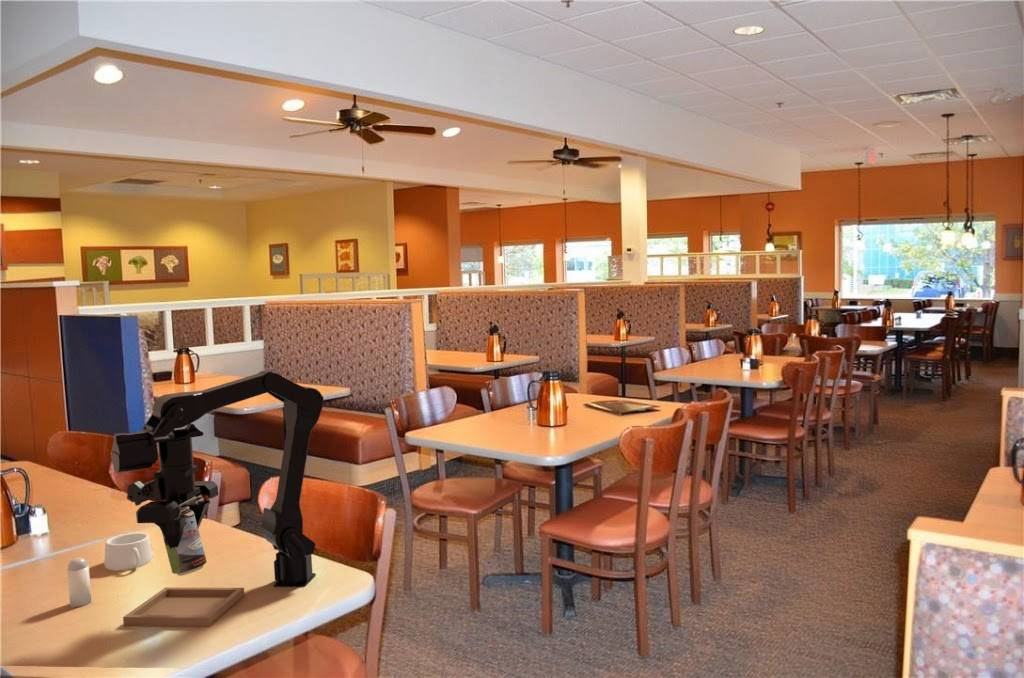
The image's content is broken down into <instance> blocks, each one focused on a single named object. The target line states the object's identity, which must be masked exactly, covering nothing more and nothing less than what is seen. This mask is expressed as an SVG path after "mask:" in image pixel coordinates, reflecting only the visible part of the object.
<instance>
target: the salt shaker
mask: <svg viewBox="0 0 1024 678" xmlns="http://www.w3.org/2000/svg"><path fill="white" fill-rule="evenodd" d="M90 579H91V577H90V565H89V563H88V561H87V560H86V558H84V557H78V556H77V557H75V558H72V559H71V560H70V561H69V563H68V564H67V581H68V597H69V606H70V607H71V608H79V607H84V606H88V605H89V604H91V603H92V592H91V581H90Z"/></svg>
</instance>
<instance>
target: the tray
mask: <svg viewBox="0 0 1024 678" xmlns="http://www.w3.org/2000/svg"><path fill="white" fill-rule="evenodd" d="M245 595H246V594H245V587H182V586H181V587H171V586H170V587H167V586H166V587H164V588H162V589H161V590H160V591H158V592H157V593H155V594H154V595H152V596H151V597H150V598H148V599H146V600H145V601H144V602H142V603H141V604H139V605H138V606H137V607H135V608H134V609H132V610H131V611H129V612H128V613H127V614H125V615H124V616H123V617H122V620H123V626H124V627H187V628H188V627H192V628H193V627H197V628H198V627H199V628H201V627H202V628H203V627H204V628H210V627H212V626H213V624H215V622H216V621H218V620H219V619H220V618H221V617H223V615H225V613H227V612H228V611H229V610H230V609H232V608H233V607H234V606H235V605H236V604H237V603H238V602H239V601H241V599H243V598H244V597H245Z"/></svg>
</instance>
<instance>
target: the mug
mask: <svg viewBox="0 0 1024 678" xmlns="http://www.w3.org/2000/svg"><path fill="white" fill-rule="evenodd" d="M104 545H105V546H104V560H103V562H104V568H105V569H106V570H109V571H114V572H115V571H118V572H119V571H120V572H121V571H129V570H133V569H137V568H142V567H144V566H145V565H148V564H149V563H151V562H153V560H154V552H153V547H152V543H151V538H150V534H148V533H146V532H145V533H144V532H131V533H125V534H119V535H116V536H112V537H111V538H109V539H107V540H106V541H105V543H104Z"/></svg>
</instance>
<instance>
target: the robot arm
mask: <svg viewBox="0 0 1024 678" xmlns="http://www.w3.org/2000/svg"><path fill="white" fill-rule="evenodd" d="M266 393H267V394H269V396H271V397H273V398H274V399H275V400H278V401H280V402H282V403H283V417H284V418H283V419H284V422H285V428H286V435H285V439H284V440H285V441H284V446H283V453H282V459H281V466H280V471H279V472H280V473H279V476H278V477H279V478H278V484H277V490H276V491H277V492H276V497H275V500H274V502H273V504H272V506H271V507H270V508H267V507H264V508H263V510H262V522H261V524H260V526H259V528H260V529H262V536H263V538H264V539H265V540H266V542H268V543H270V544H272V547H273V549H274V550H275V551H278V552H276V553H275V560H274V561H273V568H274V569H273V572H274V581H275V583H274V584H273V587H275V588H304V587H307V585H309V583H311V581H312V580H313V579H315V578H316V576H317V574H316V573H315V572H314V573H313V560H312V558H313V557H312V555H313V554H314V552H315V547H316V543H315V541H313V540H312V539H310V538H309V537H307V536H306V535H305V534H304V517H303V513H302V510H301V508H302V507H301V504H300V503H301V498H302V497H301V496H302V495H301V494H302V490H303V485H304V483H303V482H304V477H305V470H306V464H307V460H308V459H307V458H308V457H307V456H308V452H309V445H310V438H311V434H312V431H313V429H314V428H315V426H316V425H317V423H318V422H319V420H320V417H321V414H322V410H323V407H324V404H325V403H324V402H325V401H324V396H323V394H322V393H321V392H320V391H319V390H318V389H317V388H313V387H310V386H303V385H300V384H298V383H295V382H294V381H292V380H289V379H287V378H286V377H284V376H282V375H280V373H278V372H276V371H272V370H271V371H270V370H261V371H260V372H257V373H256V374H252V375H250V376H245V377H243V378H239V379H236V380H232V381H228V382H225V383H223V384H219V385H216V386H212V387H209V388H205V389H203V390H196V391H195V390H194V391H181V392H174V393H166V394H163V395H160V396H159V397H158V398H157V399H156V400H155V401H154V404H153V405H152V414H151V415H150V417H149V418H148V420H147V421H146V422H145V424H144V425H143V426H142V429H141V431H136V432H130V433H129V432H128V433H115V434H113V442H112V448H111V451H110V455H111V461H112V463H111V464H112V468H113V470H114V472H115V474H122V473H127V472H128V473H129V472H133V471H134V472H135V471H140V470H145V469H146V470H147V469H151V468H152V467H153V465H154V464H156V463H157V461H159V463H158V464H159V470H157V471H155V472H154V474H153V480H150V481H148V482H145V483H143V482H142V481H140V480H138V481H135V482H133V483H131V484H128V485H127V487H126V488H127V490H126V499H127V500H128V501H129V502H131V503H134V505H135V506H136V507H137V506H139V508H138V509H137V510H136V511H135V512H136V513H135V514H136V516H135V517H136V523H137V524H154V525H156V526H158V528H159V529H160V531H161V533H162V532H163V534H164V536H165V539H166V541H167V543H168V545H169V547H170V549H171V548H173V547H177V548H178V546H179V543H180V540H181V538H182V534H183V529H184V524H185V520H186V515H180V508H182V507H187V506H189V509H191V510H192V511H193V512H194V514H195V518H196V522H197V526H198V530H199V528H200V526H201V524H202V522H203V518H204V516H205V514H206V512H207V509H208V507H209V505H210V504H211V500H204V497H203V496H207V497H208V499H213V498H216V497H217V496H219V485H218V484H217V483H216V482H215V481H213V480H208V481H207V480H200V481H199V480H195V473H198V472H199V468H200V467H199V465H194V464H195V463H194V455H193V453H194V452H193V438H197V437H203V436H204V431H201V430H200V429H198V428H197V427H196V426H195V424H194V422H196V421H198V420H199V419H201V418H203V417H204V416H205V415H207V414H208V413H210V412H212V411H214V410H217V409H220V408H223V407H227V406H230V405H233V404H236V403H239V402H242V401H245V400H248V399H252V398H254V397H258V396H261V395H263V394H266ZM150 500H153V501H150ZM147 501H149V502H148V503H145V502H147ZM143 503H145V504H144V505H142V504H143ZM140 505H141V506H140Z"/></svg>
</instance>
